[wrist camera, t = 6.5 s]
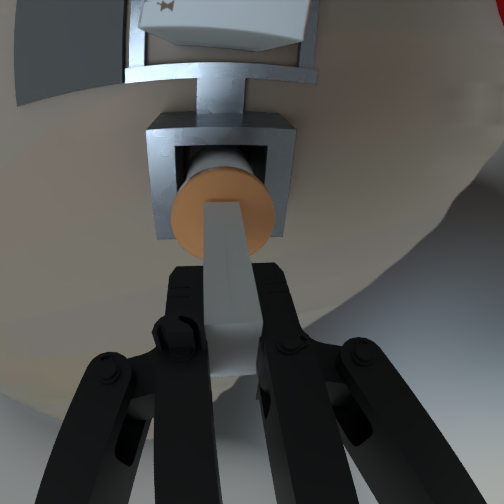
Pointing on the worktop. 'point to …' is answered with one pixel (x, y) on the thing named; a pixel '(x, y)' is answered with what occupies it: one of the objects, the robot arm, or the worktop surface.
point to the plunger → (221, 197)
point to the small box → (227, 22)
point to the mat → (67, 46)
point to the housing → (219, 120)
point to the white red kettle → (501, 9)
